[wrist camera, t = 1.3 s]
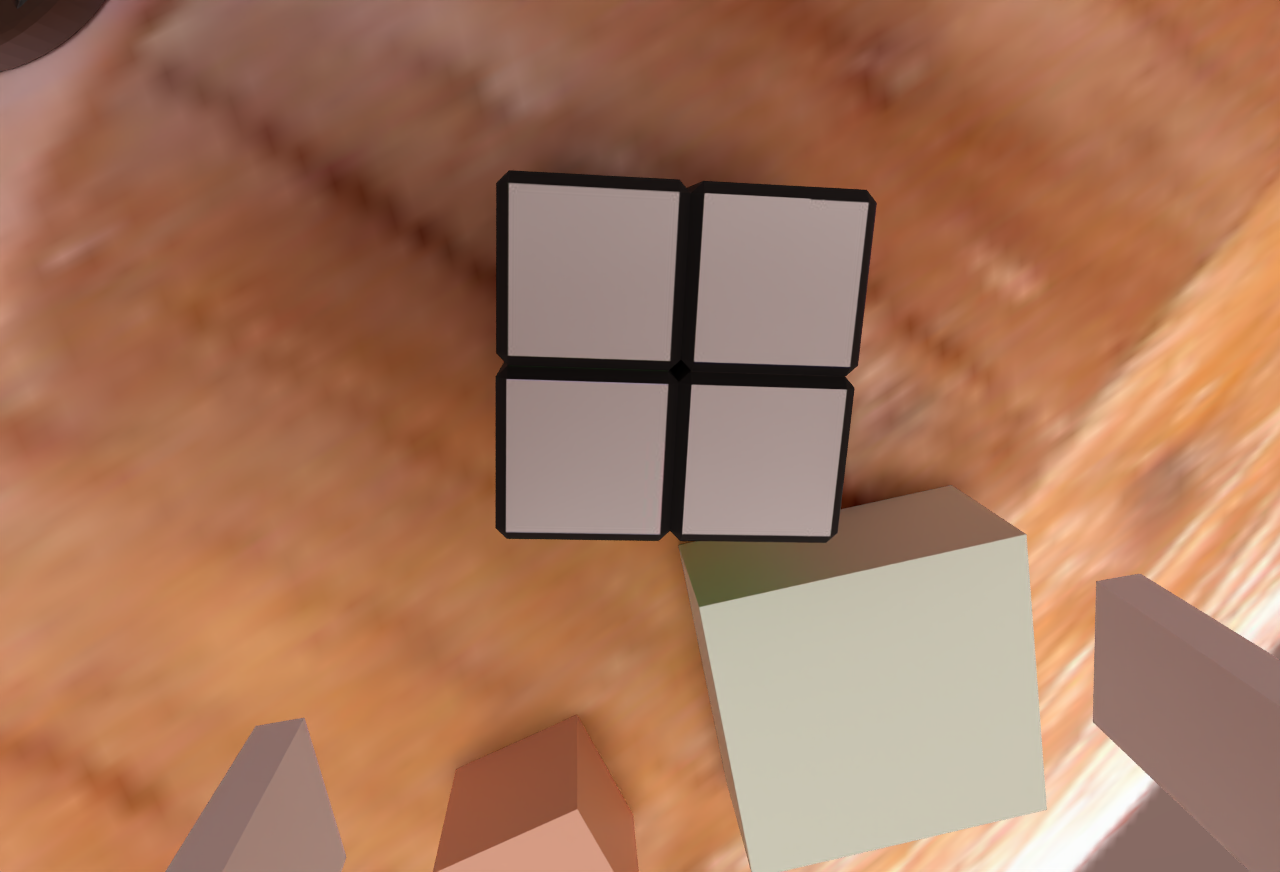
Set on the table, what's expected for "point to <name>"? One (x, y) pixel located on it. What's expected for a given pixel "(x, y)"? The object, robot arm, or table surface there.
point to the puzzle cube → (675, 356)
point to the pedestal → (871, 678)
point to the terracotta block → (538, 810)
